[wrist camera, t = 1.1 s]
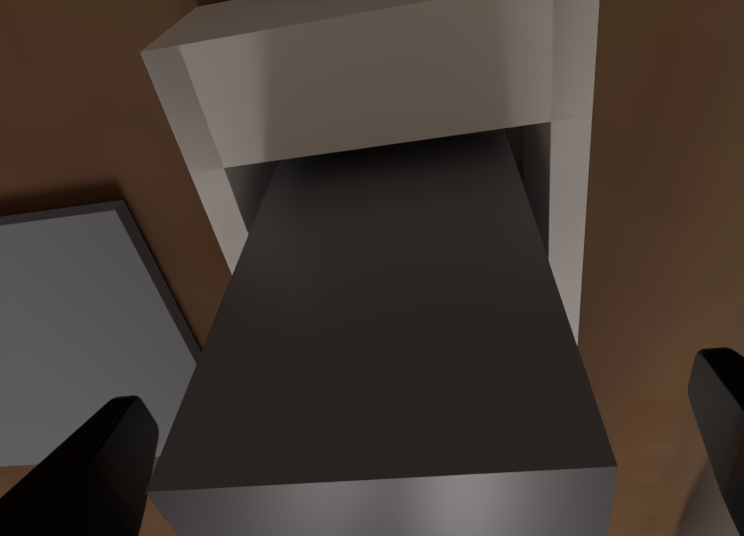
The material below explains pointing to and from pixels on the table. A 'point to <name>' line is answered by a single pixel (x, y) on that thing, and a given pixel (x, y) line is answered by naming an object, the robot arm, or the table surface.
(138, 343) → the slate mat
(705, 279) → the table surface
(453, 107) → the power strip
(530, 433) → the grey rectangular block
